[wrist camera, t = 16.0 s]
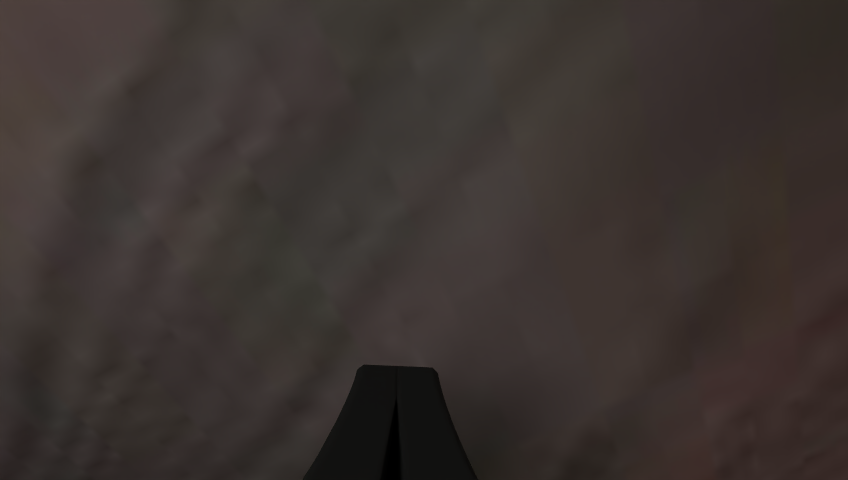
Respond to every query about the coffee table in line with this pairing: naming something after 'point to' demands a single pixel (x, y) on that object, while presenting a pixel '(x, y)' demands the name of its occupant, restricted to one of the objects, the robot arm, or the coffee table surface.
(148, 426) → the coffee table surface
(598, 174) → the coffee table surface
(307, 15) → the coffee table surface
